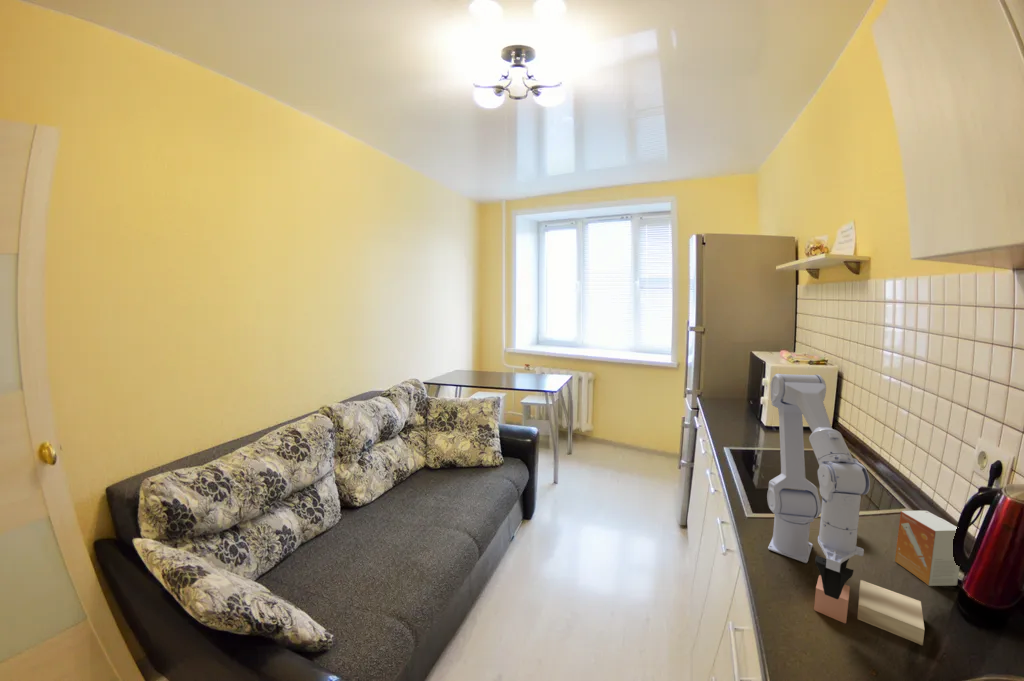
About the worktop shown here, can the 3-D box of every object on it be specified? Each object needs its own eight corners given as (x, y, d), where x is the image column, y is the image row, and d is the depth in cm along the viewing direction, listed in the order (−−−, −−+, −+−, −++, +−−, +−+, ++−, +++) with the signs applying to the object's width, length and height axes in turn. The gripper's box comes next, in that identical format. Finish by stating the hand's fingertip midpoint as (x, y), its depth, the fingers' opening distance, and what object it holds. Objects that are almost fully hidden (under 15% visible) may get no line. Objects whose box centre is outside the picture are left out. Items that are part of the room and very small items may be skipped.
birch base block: (858, 594, 85) (860, 579, 85) (918, 617, 79) (920, 601, 79) (857, 620, 79) (858, 604, 78) (922, 647, 73) (924, 629, 72)
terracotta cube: (817, 596, 85) (819, 574, 84) (847, 609, 81) (850, 586, 81) (813, 610, 81) (815, 587, 80) (845, 624, 78) (848, 600, 77)
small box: (893, 561, 95) (899, 510, 93) (920, 561, 95) (926, 509, 93) (928, 586, 87) (935, 530, 85) (958, 586, 87) (965, 530, 85)
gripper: (864, 547, 71) (857, 617, 72) (867, 514, 81) (861, 575, 83) (814, 531, 76) (809, 597, 77) (823, 502, 86) (818, 560, 88)
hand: (833, 585), depth 80 cm, fingers open, 7 cm apart
